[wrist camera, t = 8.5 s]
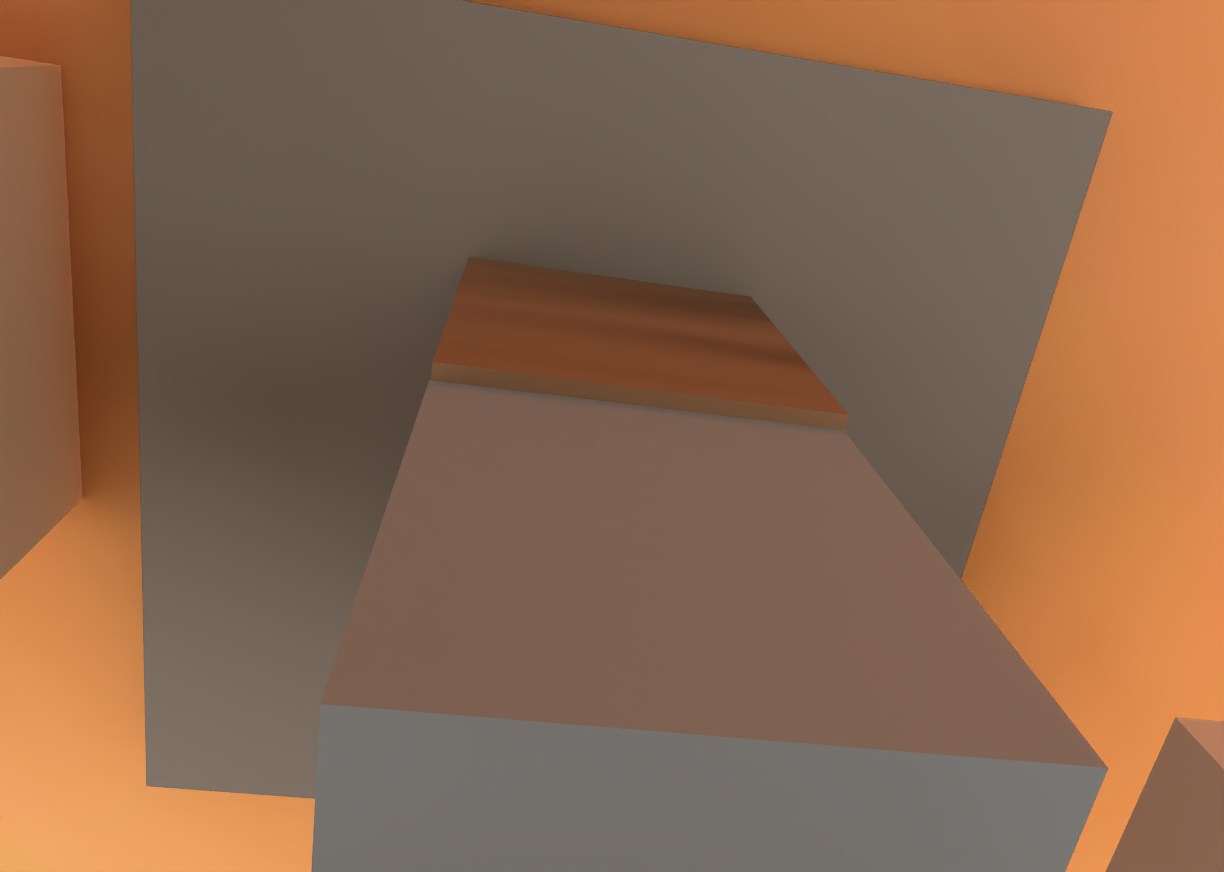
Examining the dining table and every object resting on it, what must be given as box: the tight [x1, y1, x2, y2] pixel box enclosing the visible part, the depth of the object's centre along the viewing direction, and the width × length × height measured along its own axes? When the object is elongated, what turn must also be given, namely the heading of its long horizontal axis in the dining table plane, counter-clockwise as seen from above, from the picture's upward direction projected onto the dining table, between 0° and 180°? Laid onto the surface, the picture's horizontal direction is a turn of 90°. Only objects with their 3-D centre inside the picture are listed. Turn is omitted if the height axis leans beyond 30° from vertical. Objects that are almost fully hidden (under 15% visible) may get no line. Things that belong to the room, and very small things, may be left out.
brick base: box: [431, 257, 849, 431], centre depth 16 cm, size 8×5×6 cm, turn 171°
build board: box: [130, 0, 1113, 799], centre depth 19 cm, size 16×16×1 cm
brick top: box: [312, 380, 1108, 872], centre depth 10 cm, size 8×5×6 cm, turn 171°
